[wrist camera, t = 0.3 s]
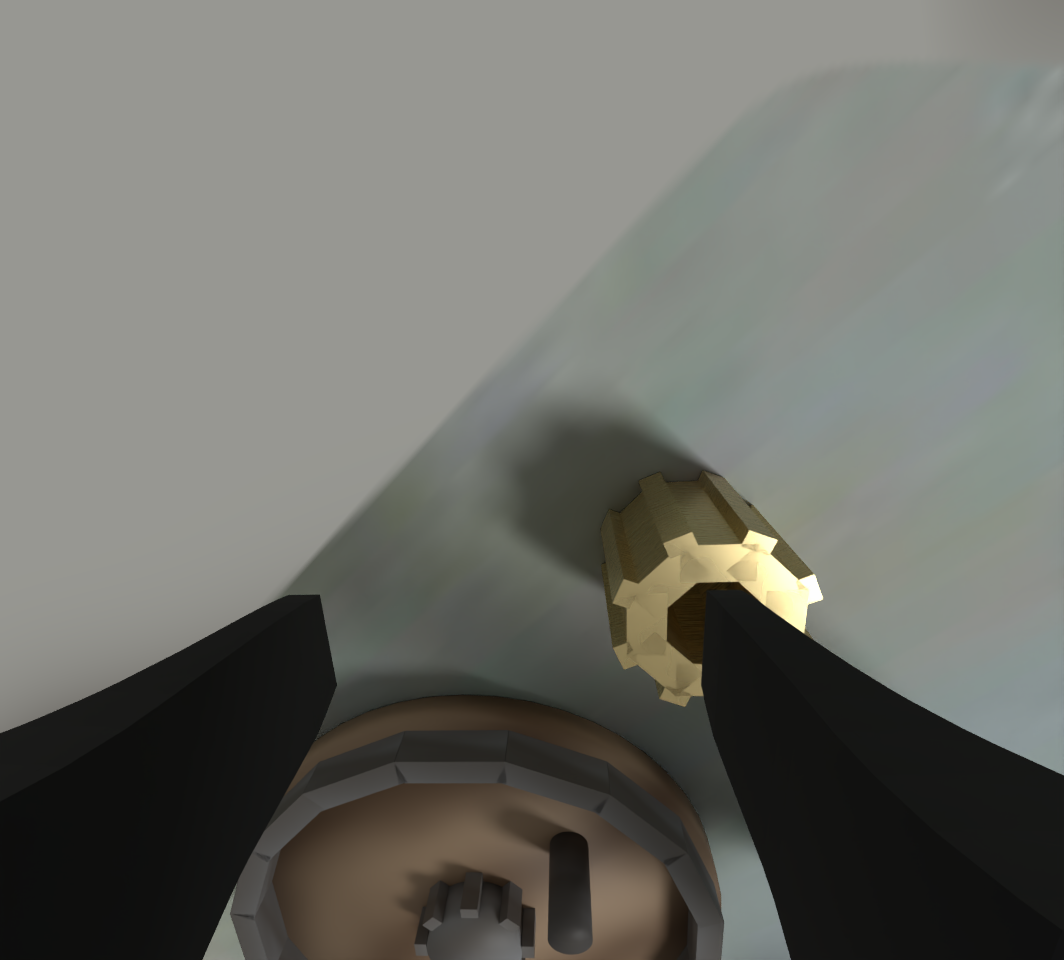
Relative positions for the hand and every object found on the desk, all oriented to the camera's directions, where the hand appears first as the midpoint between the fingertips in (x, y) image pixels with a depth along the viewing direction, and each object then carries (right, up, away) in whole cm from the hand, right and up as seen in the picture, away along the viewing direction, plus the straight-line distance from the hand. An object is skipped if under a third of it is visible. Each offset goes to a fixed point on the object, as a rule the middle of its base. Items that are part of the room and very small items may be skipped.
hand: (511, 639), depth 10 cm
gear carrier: (-2, -16, +16) cm, 22 cm away
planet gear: (+6, +1, +10) cm, 11 cm away
